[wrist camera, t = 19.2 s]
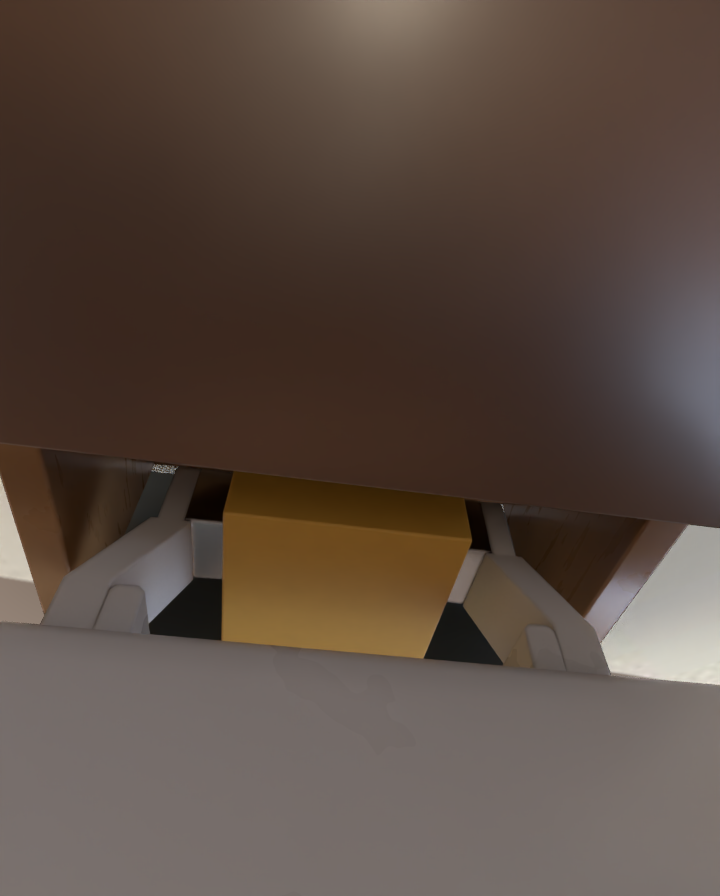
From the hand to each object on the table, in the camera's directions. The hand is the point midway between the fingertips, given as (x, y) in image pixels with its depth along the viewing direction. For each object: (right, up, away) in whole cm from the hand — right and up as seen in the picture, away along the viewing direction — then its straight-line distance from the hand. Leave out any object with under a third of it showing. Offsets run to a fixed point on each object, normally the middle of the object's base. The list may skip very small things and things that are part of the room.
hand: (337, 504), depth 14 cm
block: (0, +1, +1) cm, 2 cm away
